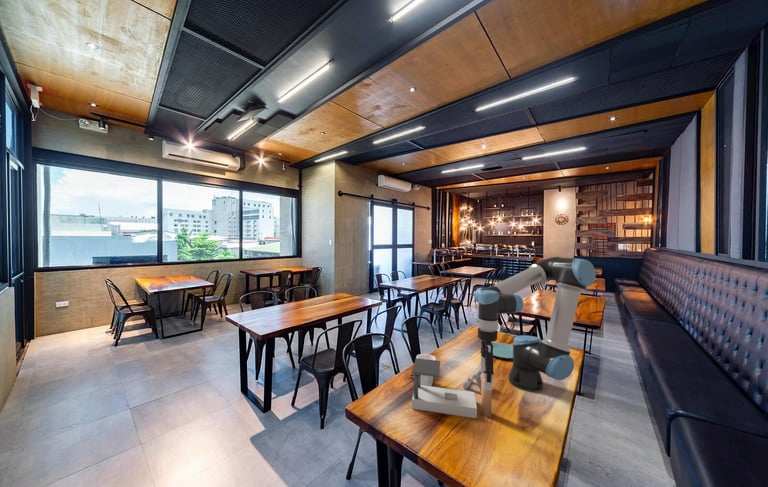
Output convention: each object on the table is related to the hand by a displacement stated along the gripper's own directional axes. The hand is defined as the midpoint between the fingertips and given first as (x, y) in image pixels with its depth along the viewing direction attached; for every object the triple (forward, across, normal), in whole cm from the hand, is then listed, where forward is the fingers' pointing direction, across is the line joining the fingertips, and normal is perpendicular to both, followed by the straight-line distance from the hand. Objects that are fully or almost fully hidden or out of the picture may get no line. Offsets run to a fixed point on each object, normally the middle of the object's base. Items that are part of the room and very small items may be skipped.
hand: (486, 380), depth 114 cm
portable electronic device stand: (+14, -20, -2) cm, 25 cm away
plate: (+14, -65, +18) cm, 69 cm away
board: (+14, -2, -16) cm, 22 cm away
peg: (+14, 0, 0) cm, 14 cm away
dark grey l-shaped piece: (+10, -2, -24) cm, 26 cm away
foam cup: (+14, -17, -26) cm, 34 cm away
